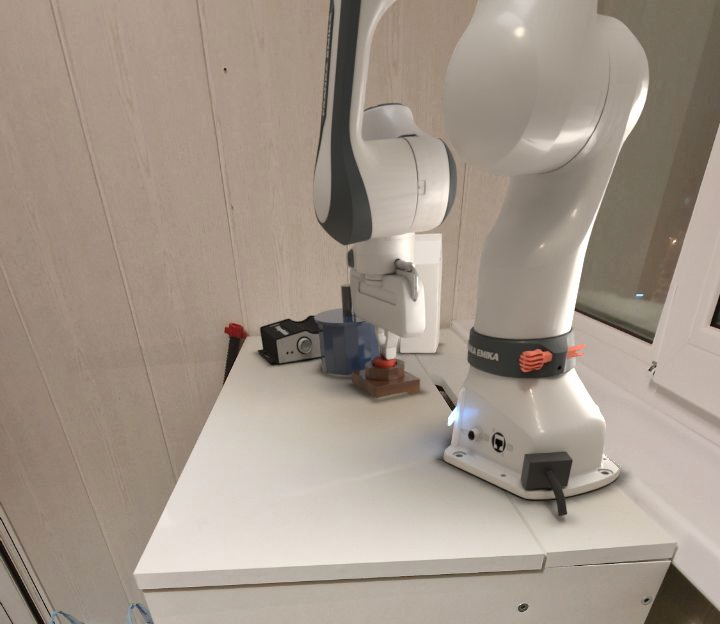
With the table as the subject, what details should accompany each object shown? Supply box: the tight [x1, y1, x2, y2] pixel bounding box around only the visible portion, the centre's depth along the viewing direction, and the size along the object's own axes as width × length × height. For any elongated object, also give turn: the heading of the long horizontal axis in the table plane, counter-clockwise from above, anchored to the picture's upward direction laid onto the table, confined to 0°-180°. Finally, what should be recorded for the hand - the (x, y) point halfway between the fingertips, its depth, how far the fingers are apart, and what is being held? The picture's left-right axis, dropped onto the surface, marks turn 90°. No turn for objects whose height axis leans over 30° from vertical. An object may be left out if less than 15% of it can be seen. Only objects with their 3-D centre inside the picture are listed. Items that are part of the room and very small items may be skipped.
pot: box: [318, 323, 380, 376], centre depth 102 cm, size 12×12×8 cm
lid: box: [314, 283, 370, 326], centre depth 98 cm, size 13×13×6 cm
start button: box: [374, 356, 397, 367], centre depth 92 cm, size 4×4×2 cm
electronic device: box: [257, 314, 321, 366], centre depth 113 cm, size 13×5×20 cm
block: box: [351, 358, 421, 398], centre depth 93 cm, size 10×8×4 cm
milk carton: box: [399, 233, 444, 354], centre depth 107 cm, size 7×7×19 cm
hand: (387, 357), depth 92 cm, fingers closed, pressing on start button
